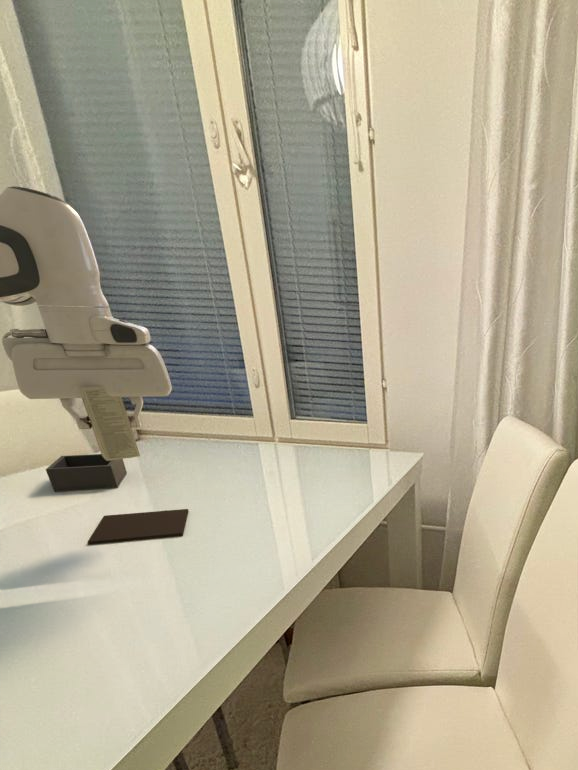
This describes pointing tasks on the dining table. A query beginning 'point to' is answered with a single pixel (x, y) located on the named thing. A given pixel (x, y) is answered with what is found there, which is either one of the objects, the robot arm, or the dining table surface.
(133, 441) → the box
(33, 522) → the dining table surface
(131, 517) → the mat
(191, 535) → the dining table surface
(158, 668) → the dining table surface
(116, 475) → the bin
